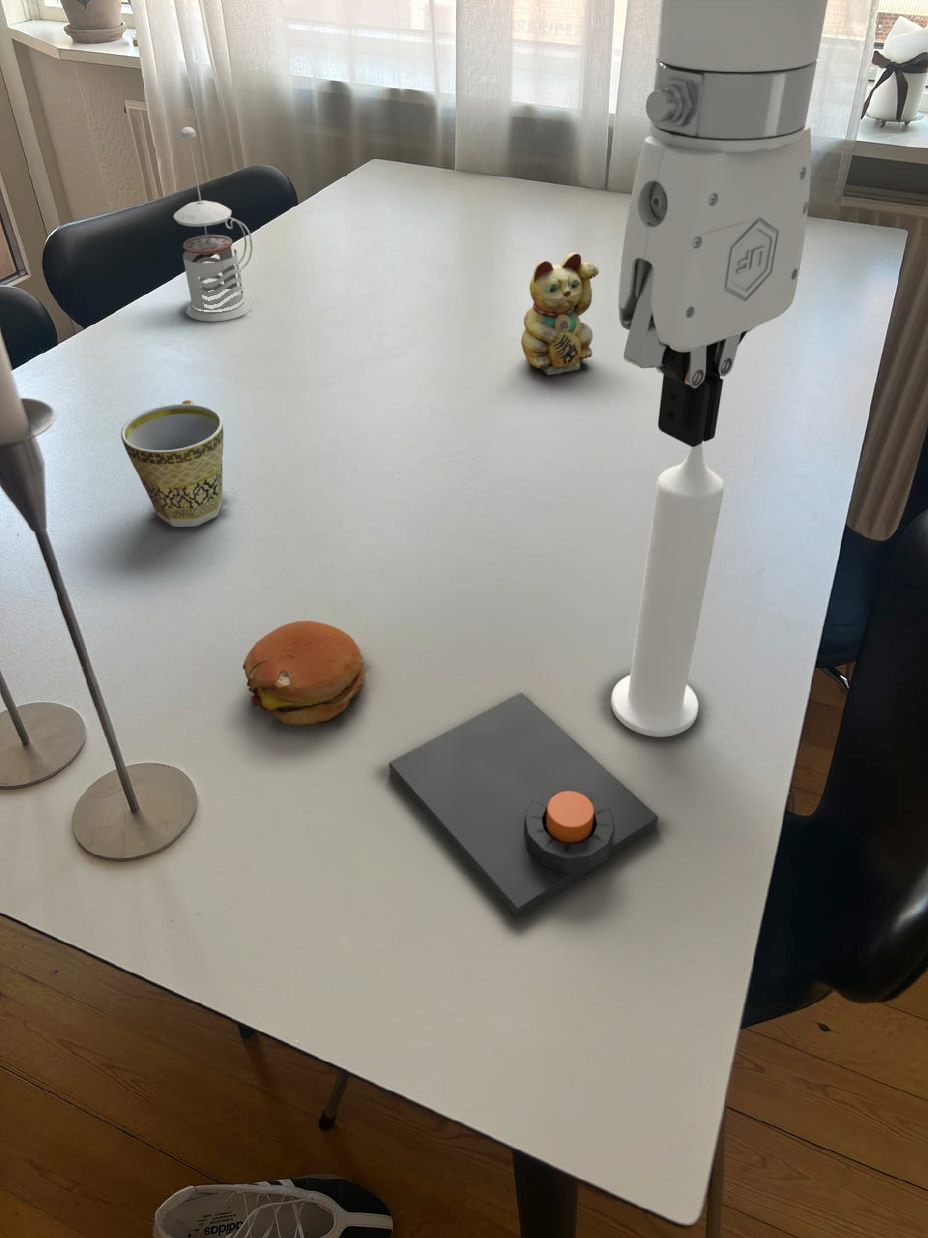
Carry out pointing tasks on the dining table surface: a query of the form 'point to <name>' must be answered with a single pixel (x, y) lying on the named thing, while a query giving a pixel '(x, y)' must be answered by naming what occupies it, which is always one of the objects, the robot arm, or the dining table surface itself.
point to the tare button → (569, 816)
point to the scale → (519, 801)
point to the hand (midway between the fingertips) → (685, 434)
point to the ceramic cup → (178, 460)
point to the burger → (304, 672)
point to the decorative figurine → (559, 315)
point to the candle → (671, 600)
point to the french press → (220, 245)
